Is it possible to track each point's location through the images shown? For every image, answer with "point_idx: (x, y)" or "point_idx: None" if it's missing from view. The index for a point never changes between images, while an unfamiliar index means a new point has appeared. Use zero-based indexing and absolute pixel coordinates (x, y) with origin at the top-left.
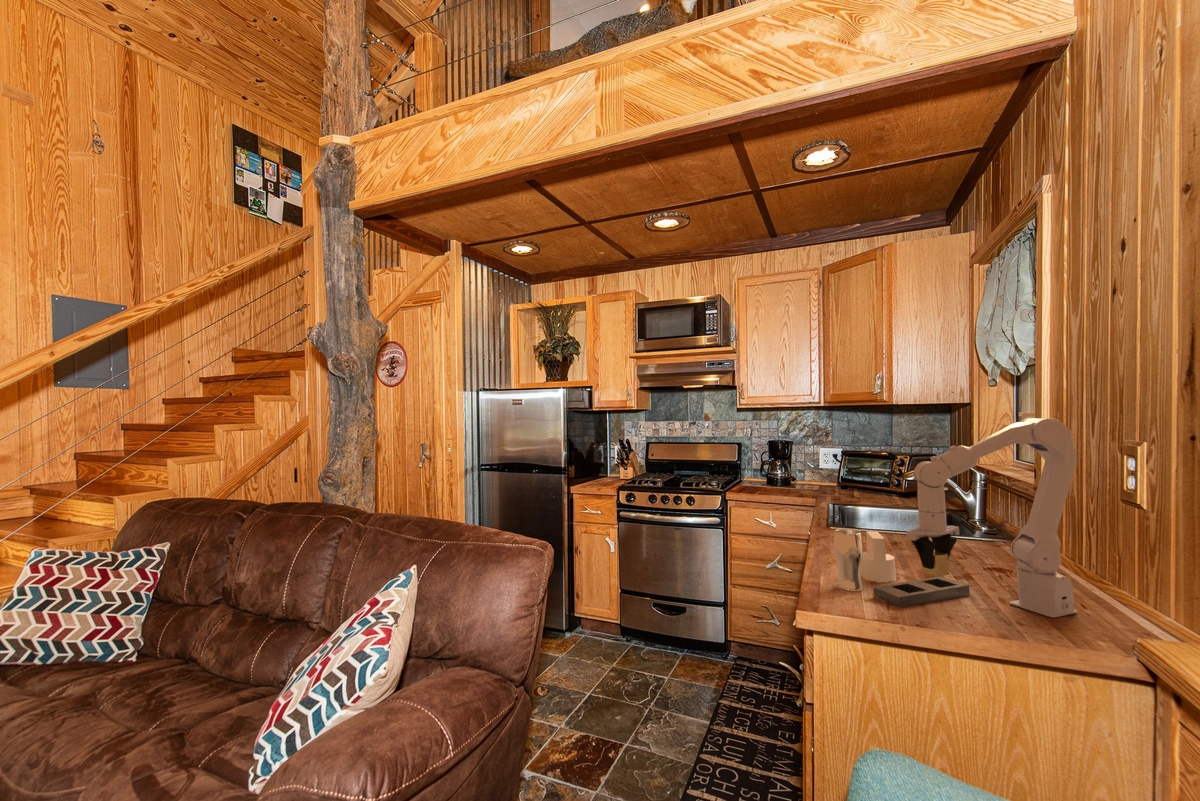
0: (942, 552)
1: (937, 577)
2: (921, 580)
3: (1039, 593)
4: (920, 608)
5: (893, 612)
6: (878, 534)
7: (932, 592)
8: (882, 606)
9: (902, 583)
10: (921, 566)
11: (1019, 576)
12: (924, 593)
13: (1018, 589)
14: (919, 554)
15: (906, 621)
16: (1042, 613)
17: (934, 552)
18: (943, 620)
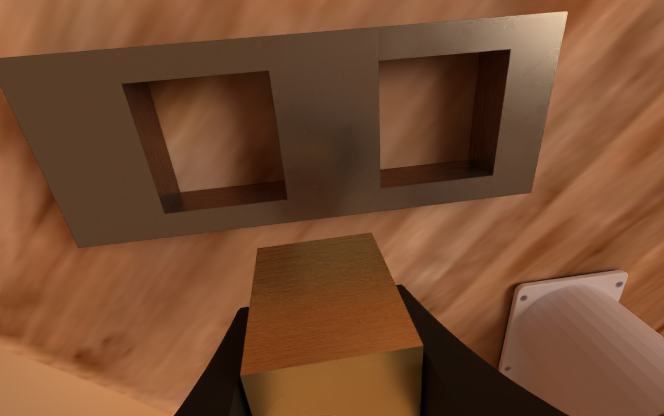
0: (425, 414)
1: (529, 29)
2: (394, 46)
3: (553, 401)
4: (191, 244)
5: (47, 255)
6: None
7: (298, 218)
8: (26, 187)
9: (238, 55)
10: (254, 274)
11: (601, 403)
12: (246, 225)
13: (568, 339)
14: (195, 393)
15: (56, 329)
16: (501, 363)
17: (358, 408)
18: (196, 341)
